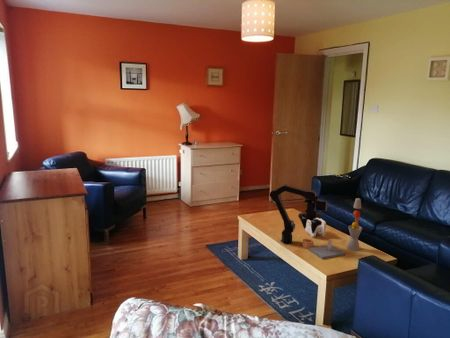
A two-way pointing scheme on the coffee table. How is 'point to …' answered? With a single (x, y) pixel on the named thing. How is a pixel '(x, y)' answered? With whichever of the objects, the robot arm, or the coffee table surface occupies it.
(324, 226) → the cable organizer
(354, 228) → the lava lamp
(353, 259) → the coffee table surface
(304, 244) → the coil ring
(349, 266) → the coffee table surface
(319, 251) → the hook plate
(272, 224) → the coffee table surface
